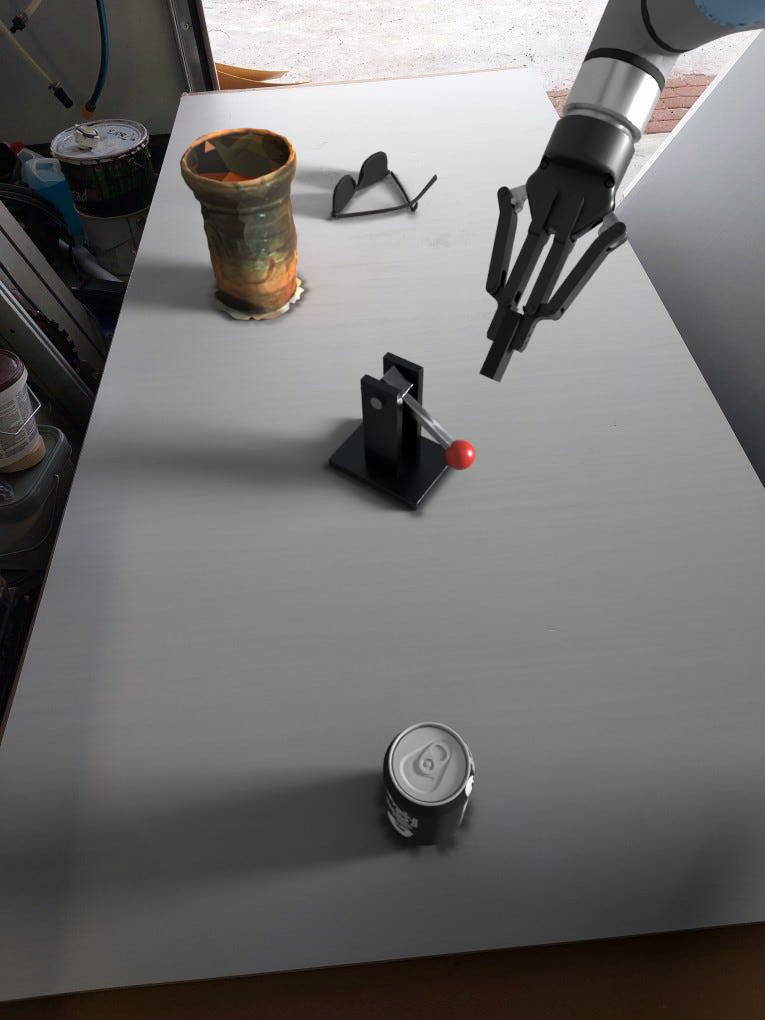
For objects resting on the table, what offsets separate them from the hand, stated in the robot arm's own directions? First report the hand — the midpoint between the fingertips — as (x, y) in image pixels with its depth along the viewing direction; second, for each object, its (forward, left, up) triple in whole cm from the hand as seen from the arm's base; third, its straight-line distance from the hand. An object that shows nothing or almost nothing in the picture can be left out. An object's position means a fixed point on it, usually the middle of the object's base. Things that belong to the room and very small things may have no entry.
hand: (489, 377), depth 67 cm
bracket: (+9, +4, -15) cm, 18 cm away
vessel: (+43, -13, -15) cm, 47 cm away
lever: (+5, +4, -7) cm, 9 cm away
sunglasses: (+40, -42, -15) cm, 60 cm away
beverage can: (-14, +34, -15) cm, 40 cm away
